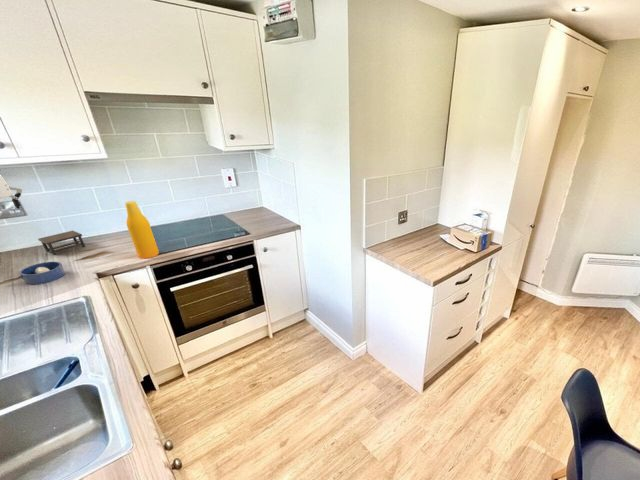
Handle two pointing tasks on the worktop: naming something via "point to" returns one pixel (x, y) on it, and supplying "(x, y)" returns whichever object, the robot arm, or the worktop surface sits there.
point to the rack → (61, 237)
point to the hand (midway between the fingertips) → (2, 210)
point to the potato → (41, 270)
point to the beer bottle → (140, 232)
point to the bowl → (33, 278)
